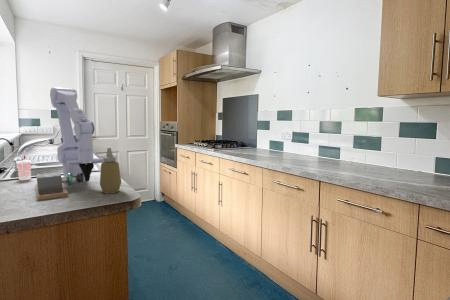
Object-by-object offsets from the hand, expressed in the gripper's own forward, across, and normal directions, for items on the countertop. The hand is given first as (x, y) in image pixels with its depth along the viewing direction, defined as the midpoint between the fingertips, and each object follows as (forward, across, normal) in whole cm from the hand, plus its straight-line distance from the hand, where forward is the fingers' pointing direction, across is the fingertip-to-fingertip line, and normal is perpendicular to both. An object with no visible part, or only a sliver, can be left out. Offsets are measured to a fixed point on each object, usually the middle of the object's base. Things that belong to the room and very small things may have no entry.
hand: (87, 180), depth 117 cm
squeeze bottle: (+3, +6, -14) cm, 16 cm away
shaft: (+1, -9, 0) cm, 9 cm away
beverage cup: (+3, -22, +36) cm, 42 cm away
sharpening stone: (+3, -14, 0) cm, 14 cm away
